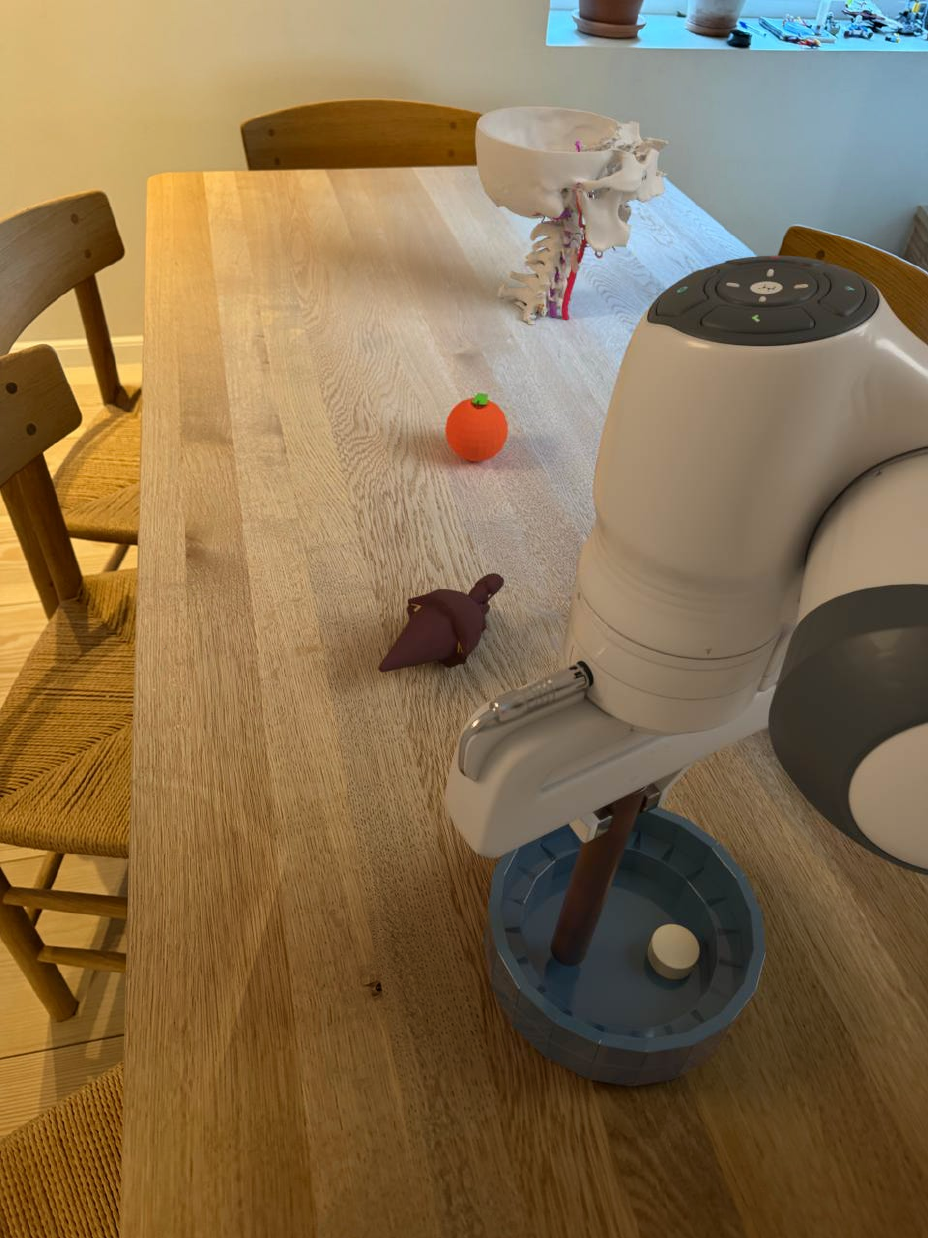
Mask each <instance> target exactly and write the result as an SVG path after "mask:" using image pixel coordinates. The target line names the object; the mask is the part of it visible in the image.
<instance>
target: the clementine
mask: <svg viewBox="0 0 928 1238" xmlns="http://www.w3.org/2000/svg"><path fill="white" fill-rule="evenodd" d="M444 430H445V437H446V440H447V443H448V445H449V447H450V448H451V450H452V451H453V452H454V453H455V454H456V455H457V456H458V457H460V458H461V459H464V460H466V461H470V462H483V461H488V460H490V459H492V458H493V457H494V456H496V455H497V454H499V452H501V450H502V448H503V447H504V445H505V444H506V442H507V438H508V433H509V423H508V420H507V417H506V415H505V412H504V411H503V410H502V408H500V406H498V404H497V403H495V402H494V401H492V400H490V399H489V395H488V393H482V392H479V393H477V394H476V395H475V396H474V397H470V398H467V399H465V400H462V401H460V402H458V404H456V405H455V406H454V407H453V408H452V409H451V411H450V413H449V414H448V416H447V418H446V423H445V429H444Z"/></svg>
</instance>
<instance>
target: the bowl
mask: <svg viewBox="0 0 928 1238" xmlns="http://www.w3.org/2000/svg"><path fill="white" fill-rule="evenodd" d="M581 842H582V841H581V840H580V839H579V837H578V836H577V835H576V833H575V832H574V831H573V829H572V828H571V827H570V825H569V824H567V825H564V826H562V827H560V828H558V829H556V830H554V831H552V832H550V833H548V834H546V835H544V836H542V837H540V838H538V839H536V840H533V841H531V842H529V843H527V844H525V845H523V846H521V847H519V848H517V849H515V850H513V851H511V852H509V853H507V854H505V855H503V856H500V857H499V860H498V862H497V864H496V866H495V867H494V870H493V872H492V877H491V884H490V891H489V900H488V905H487V913H486V921H485V928H484V936H483V944H482V950H483V956H484V962H485V966H486V970H487V975H488V979H489V986H490V989H491V992H492V993H493V995H494V996H495V998H496V1000H497V1002H498V1003H499V1005H500V1007H501V1009H502V1011H503V1012H504V1014H505V1016H506V1018H507V1020H508V1021H509V1024H510V1025H511V1026H512V1028H513V1029H515V1031H517V1033H519V1034H520V1035H521V1036H522V1037H523V1038H524V1039H525V1040H526V1041H527V1043H528V1044H530V1045H531V1046H532V1047H533V1048H534V1049H535V1050H536V1051H537V1052H538V1053H539V1054H541V1055H542V1056H543V1058H545V1059H547V1060H548V1061H551V1062H553V1063H555V1064H557V1065H559V1066H561V1067H562V1068H565V1069H567V1070H569V1071H571V1072H572V1073H574V1074H576V1075H579V1076H581V1077H583V1078H585V1079H587V1080H589V1081H590V1080H591V1081H596V1082H601V1083H610V1084H613V1085H614V1084H615V1085H621V1086H626V1087H637V1086H643V1085H649V1084H655V1083H660V1082H667V1081H672V1080H675V1079H678V1078H680V1077H681V1076H683V1075H685V1074H687V1073H689V1072H690V1071H692V1070H694V1069H696V1068H697V1067H698V1066H700V1065H702V1064H704V1063H705V1062H707V1061H708V1060H710V1059H711V1058H713V1057H714V1055H715V1054H716V1052H717V1051H718V1050H719V1049H720V1047H722V1044H724V1042H725V1041H726V1040H727V1038H728V1037H729V1036H730V1034H731V1033H732V1031H733V1030H734V1029H735V1027H736V1026H737V1024H738V1022H739V1020H741V1017H742V1016H743V1014H744V1013H745V1011H746V1009H747V1007H748V1005H749V1004H750V1002H751V1001H752V999H753V996H754V995H755V994H756V992H757V988H758V984H759V981H760V976H761V973H762V970H763V966H764V962H765V959H766V955H767V949H766V948H767V947H766V938H765V927H764V917H763V913H762V912H763V910H762V909H761V907H760V903H759V901H758V899H757V897H756V895H755V893H754V890H753V888H752V886H751V883H750V881H749V879H748V877H747V875H746V873H745V872H744V871H743V870H742V868H741V866H739V864H738V863H737V862H736V861H735V860H734V859H733V857H732V856H731V855H730V853H729V852H728V851H727V850H726V848H725V847H724V846H723V845H722V844H721V843H720V841H718V840H717V839H716V838H714V837H713V836H711V835H710V834H708V833H707V832H706V831H704V830H703V829H702V828H701V827H700V826H698V825H696V824H695V823H694V822H693V821H691V820H690V819H689V818H686V817H685V816H682V815H681V814H677V813H676V812H672V811H670V810H668V809H666V808H662V807H661V806H659V807H657V808H654V809H652V810H650V811H648V812H646V813H644V814H639V813H638V815H637V817H636V820H635V823H634V825H633V828H632V831H631V834H630V836H629V839H628V842H627V845H626V847H625V850H624V853H623V855H622V858H621V861H620V864H619V866H618V869H617V872H616V874H615V877H614V880H613V883H612V885H611V888H610V891H609V894H608V896H607V899H606V902H605V904H604V907H603V910H602V913H601V915H600V918H599V921H598V923H597V926H596V929H595V932H594V934H593V937H592V940H591V943H590V945H589V948H588V951H587V953H586V956H585V958H584V960H583V961H582V962H581V963H580V964H578V965H576V966H564V965H562V964H560V963H559V962H557V961H556V960H555V959H554V957H553V956H552V953H551V949H550V945H551V941H552V938H553V934H554V931H555V928H556V924H557V921H558V918H559V914H560V911H561V908H562V905H563V901H564V898H565V895H566V891H567V888H568V885H569V881H570V878H571V875H572V872H573V868H574V865H575V862H576V858H577V855H578V852H579V848H580V845H581ZM667 924H675V925H680V926H682V927H684V928H686V929H688V930H689V931H690V932H691V933H692V934H693V935H694V936H695V938H696V940H697V942H698V944H699V949H700V953H699V957H698V960H697V962H696V964H695V966H694V968H693V970H692V972H691V973H690V974H689V975H688V976H686V977H684V978H682V979H669V978H666V977H663V976H662V975H660V974H659V973H657V972H656V971H655V970H654V969H653V967H652V966H651V964H650V962H649V959H648V947H649V944H650V942H651V939H652V936H653V934H654V932H655V931H656V930H657V929H658V928H660V927H661V926H664V925H667Z"/></svg>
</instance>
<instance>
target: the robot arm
mask: <svg viewBox="0 0 928 1238" xmlns="http://www.w3.org/2000/svg"><path fill="white" fill-rule="evenodd" d="M634 328H635V329H634V330H633V332H632V335H631V337H630V339H629V341H628V344H627V347H626V349H625V352H624V354H623V357H622V360H621V363H620V365H619V369H618V373H617V376H616V379H615V383H614V386H613V389H612V393H611V397H610V400H609V404H608V408H607V412H606V416H605V420H604V423H603V428H602V429H603V430H602V432H601V433H602V434H601V438H600V443H599V447H598V453H597V457H596V462H595V469H594V474H593V481H592V500H593V504H594V511H595V522H594V525H593V528H592V529H591V531H590V533H589V535H588V536H587V538H586V539H585V541H584V543H583V545H582V548H581V551H580V553H579V557H578V561H577V567H576V573H575V577H574V583H573V588H572V595H571V599H570V604H569V611H568V617H567V622H566V627H565V633H564V638H563V649H562V650H563V657H564V662H565V665H566V667H565V668H563V669H560V670H558V671H555V672H553V673H550V674H548V675H546V676H544V677H541V678H538V679H536V680H533V681H531V682H529V683H526V684H524V685H521V686H519V687H517V688H514V689H512V690H508V691H506V692H503V693H502V694H500V695H498V696H495V697H494V698H491V699H490V700H488V701H487V702H485V703H483V704H482V705H481V706H480V707H478V708H477V709H476V710H475V711H474V712H473V713H472V714H471V715H470V717H469V718H468V720H467V721H466V723H465V724H464V726H463V728H462V729H461V731H460V733H459V736H458V740H457V743H456V746H455V750H454V753H453V756H452V759H451V764H450V767H449V772H448V777H447V781H446V786H445V793H444V806H445V809H446V811H447V813H448V816H449V817H450V819H451V821H452V823H453V825H454V826H455V828H456V829H457V830H458V833H459V834H460V835H461V837H462V838H463V840H464V841H465V842H466V844H467V845H468V846H469V848H470V849H471V850H472V851H473V852H474V853H475V854H477V855H479V856H482V857H484V858H487V859H490V860H493V859H497V858H501V856H503V855H505V854H507V853H509V852H511V851H513V850H515V849H517V848H519V847H521V846H523V845H525V844H527V843H529V842H531V841H533V840H536V839H538V838H540V837H542V836H544V835H546V834H548V833H550V832H552V831H554V830H556V829H558V828H560V827H562V826H564V825H567V824H569V825H570V827H571V828H572V829H573V831H574V832H575V833H576V835H577V836H578V837H579V839H580V840H581V841H582V842H584V843H587V842H589V841H590V840H592V839H595V838H597V837H598V836H600V835H602V834H604V833H606V832H608V831H609V827H608V826H609V825H610V824H611V820H612V817H613V816H612V815H611V813H610V812H609V811H608V809H607V808H606V807H605V806H606V805H608V804H610V803H612V802H614V801H616V800H618V799H620V798H622V797H624V796H626V795H629V794H631V793H633V792H635V791H637V790H639V789H641V788H643V787H645V786H647V785H648V787H647V790H646V793H645V796H644V798H643V801H642V804H641V806H640V809H639V812H638V813H639V814H644V813H646V812H648V811H650V810H652V809H654V808H657V807H661V806H663V805H664V804H666V803H665V802H666V800H667V797H668V794H669V791H670V789H671V788H673V787H674V785H675V784H676V783H677V782H678V781H679V780H680V779H681V778H682V777H683V776H684V775H685V774H686V773H687V772H688V771H689V770H690V768H692V767H693V765H694V764H695V763H696V762H697V763H698V762H699V761H701V760H703V759H705V758H707V757H709V756H711V755H713V754H715V753H717V752H719V751H722V750H723V749H726V748H727V747H730V746H731V745H734V744H736V743H738V742H740V741H742V740H744V739H746V738H749V737H751V736H753V735H755V734H756V733H759V732H761V731H763V730H765V729H768V735H769V739H770V742H771V745H772V749H773V752H774V754H775V756H776V758H777V760H778V763H779V764H780V766H781V767H782V769H783V770H784V772H785V773H786V775H787V777H789V779H790V780H791V783H793V785H794V786H795V787H796V788H797V790H798V791H799V792H800V794H801V795H802V796H803V797H804V798H805V799H806V801H807V802H808V803H809V804H810V805H811V806H812V807H813V808H814V809H815V810H816V811H817V812H818V814H820V815H821V816H822V817H823V818H824V819H825V821H827V822H828V823H830V824H831V825H832V826H833V827H834V828H836V829H837V830H838V831H839V832H840V833H842V834H843V835H844V836H846V837H847V838H849V839H850V840H852V841H853V842H854V843H856V844H857V845H859V846H860V847H862V848H863V849H864V850H867V851H868V852H870V853H872V855H873V854H874V855H875V856H877V857H879V858H880V859H883V860H885V861H887V862H888V863H890V864H893V865H895V866H897V867H899V868H902V869H904V870H908V871H909V872H913V873H916V874H920V875H924V876H927V877H928V344H927V343H925V342H924V341H923V340H922V339H920V337H918V336H917V335H916V334H915V333H913V332H912V330H910V329H909V328H908V327H907V325H905V324H904V323H903V322H902V321H901V320H900V319H899V318H898V316H897V315H896V314H895V313H894V311H893V310H892V308H891V307H890V305H889V303H888V302H887V300H886V299H885V297H884V296H883V294H882V292H881V290H879V288H878V287H876V285H874V284H873V283H872V282H871V281H869V279H867V278H865V277H864V276H862V275H861V274H859V273H857V272H856V271H853V270H851V269H848V268H845V267H842V266H839V265H836V264H832V263H828V262H826V261H824V260H820V259H815V258H811V257H803V256H796V255H795V256H794V255H758V256H756V255H755V256H747V257H740V258H733V259H728V260H725V261H724V262H721V263H718V264H714V265H711V266H708V267H705V268H702V269H697V270H695V271H693V272H691V273H689V274H688V275H686V276H684V277H682V278H681V279H679V280H677V281H676V282H675V283H673V284H672V285H671V286H669V287H668V288H667V289H665V290H664V291H663V292H661V293H660V294H659V295H658V297H657V298H656V299H655V300H654V301H653V302H652V303H651V305H650V306H648V308H647V309H646V311H644V313H643V315H642V316H641V318H640V319H639V321H638V323H637V325H636V327H634Z"/></svg>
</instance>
